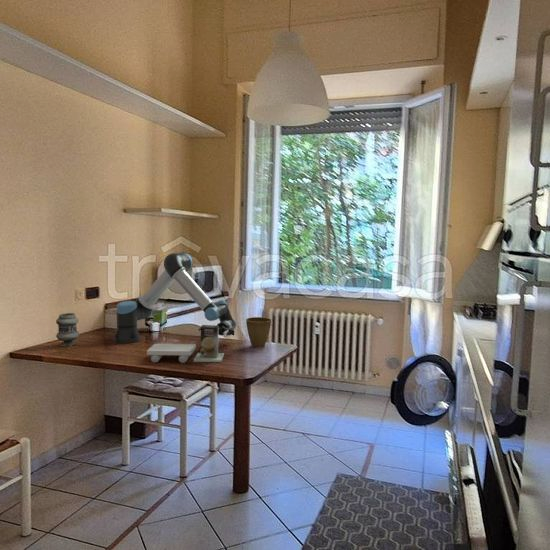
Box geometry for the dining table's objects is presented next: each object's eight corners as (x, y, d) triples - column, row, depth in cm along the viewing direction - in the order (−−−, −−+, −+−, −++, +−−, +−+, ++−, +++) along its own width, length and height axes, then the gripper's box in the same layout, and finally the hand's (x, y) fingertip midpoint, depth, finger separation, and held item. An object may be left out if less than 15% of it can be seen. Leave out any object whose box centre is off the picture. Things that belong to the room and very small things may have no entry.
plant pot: (240, 346, 268) (240, 319, 267) (256, 342, 280) (256, 316, 279) (260, 350, 259) (260, 322, 258) (276, 346, 271) (276, 319, 270)
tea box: (162, 331, 307) (162, 309, 305) (147, 331, 307) (147, 309, 306) (167, 327, 322) (167, 306, 320) (153, 327, 322) (153, 306, 321)
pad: (193, 361, 235) (193, 359, 235) (198, 354, 249) (198, 352, 249) (221, 361, 235) (221, 360, 235) (223, 354, 249) (223, 353, 249)
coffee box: (199, 357, 238) (199, 327, 237) (201, 354, 245) (201, 324, 243) (217, 357, 239) (217, 327, 237) (218, 354, 245) (218, 325, 244)
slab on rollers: (146, 362, 232) (146, 350, 231) (154, 354, 247) (154, 343, 247) (190, 363, 232) (190, 351, 231) (195, 355, 248) (195, 344, 247)
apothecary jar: (52, 346, 261) (51, 315, 259) (64, 342, 273) (63, 312, 271) (72, 347, 259) (71, 316, 258) (83, 343, 271) (82, 312, 270)
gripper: (244, 335, 263) (234, 342, 242) (203, 333, 268) (189, 339, 247) (244, 322, 263) (234, 328, 242) (203, 320, 267) (189, 325, 247)
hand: (211, 334), depth 244 cm, fingers open, 13 cm apart
